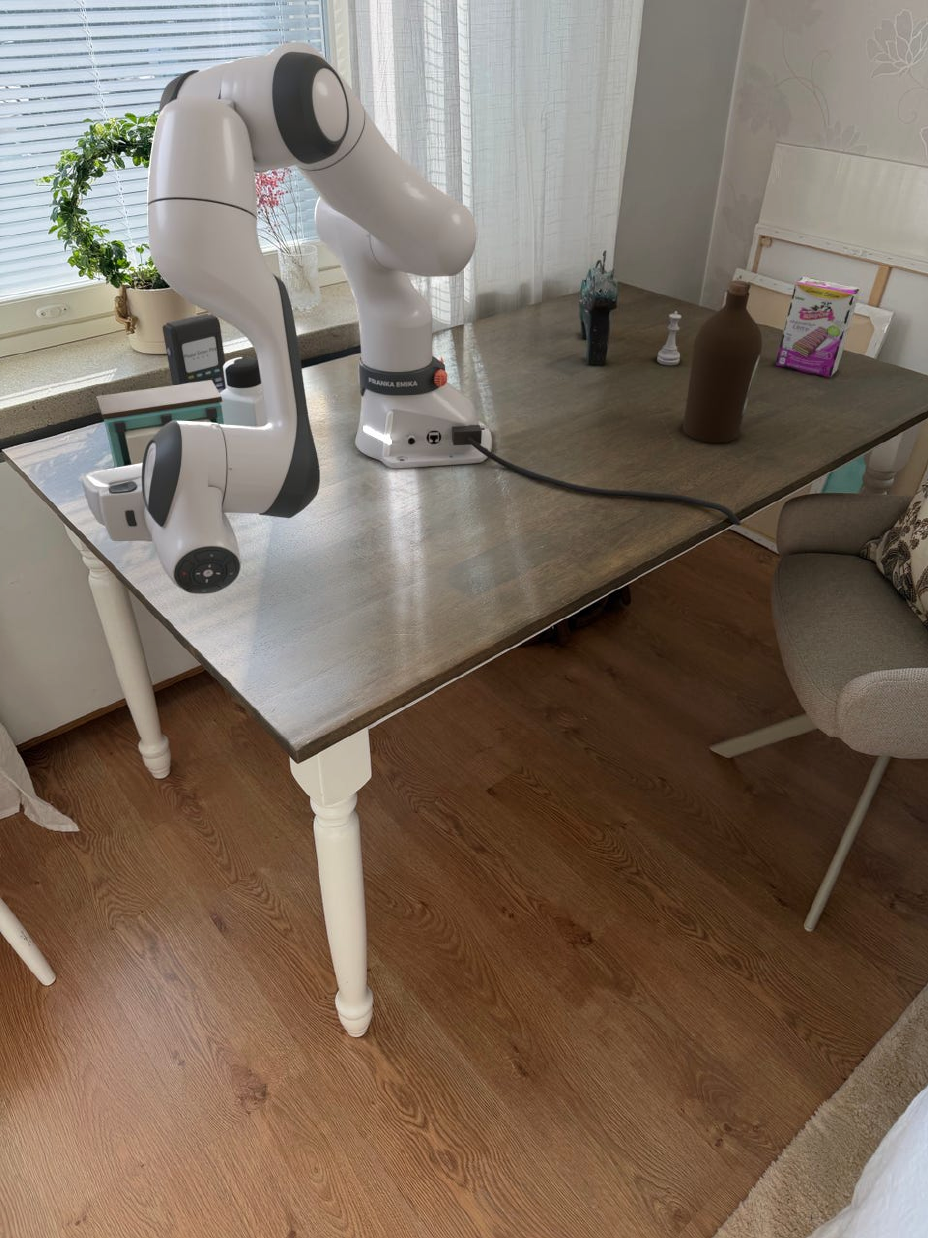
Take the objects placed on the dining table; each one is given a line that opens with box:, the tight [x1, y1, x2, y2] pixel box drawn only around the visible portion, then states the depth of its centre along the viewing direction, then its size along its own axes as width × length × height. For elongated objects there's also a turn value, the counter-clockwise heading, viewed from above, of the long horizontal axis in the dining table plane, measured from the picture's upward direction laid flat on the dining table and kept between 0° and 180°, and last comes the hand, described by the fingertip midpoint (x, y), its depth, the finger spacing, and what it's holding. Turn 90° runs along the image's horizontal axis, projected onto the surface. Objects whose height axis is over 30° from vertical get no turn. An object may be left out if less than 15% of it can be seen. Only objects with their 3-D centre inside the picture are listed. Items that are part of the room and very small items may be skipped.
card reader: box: [162, 313, 226, 393], centre depth 157 cm, size 9×4×15 cm, turn 131°
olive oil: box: [682, 279, 763, 444], centre depth 150 cm, size 11×11×25 cm
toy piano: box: [95, 380, 224, 468], centre depth 138 cm, size 10×17×12 cm, turn 114°
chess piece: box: [656, 310, 682, 366], centre depth 180 cm, size 4×4×10 cm
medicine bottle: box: [220, 356, 267, 427], centre depth 150 cm, size 7×7×12 cm
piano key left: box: [124, 424, 163, 465], centre depth 133 cm, size 4×6×5 cm, turn 114°
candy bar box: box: [775, 276, 861, 378], centre depth 177 cm, size 11×5×16 cm, turn 57°
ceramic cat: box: [578, 250, 619, 367], centre depth 181 cm, size 20×6×20 cm, turn 179°
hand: (159, 454), depth 120 cm, fingers closed
